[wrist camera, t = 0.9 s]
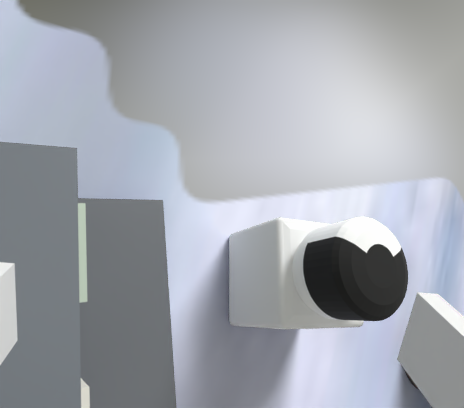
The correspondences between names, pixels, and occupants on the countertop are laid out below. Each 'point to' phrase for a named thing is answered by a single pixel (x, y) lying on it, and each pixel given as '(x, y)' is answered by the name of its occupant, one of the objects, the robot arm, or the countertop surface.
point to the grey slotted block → (67, 290)
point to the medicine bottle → (314, 274)
